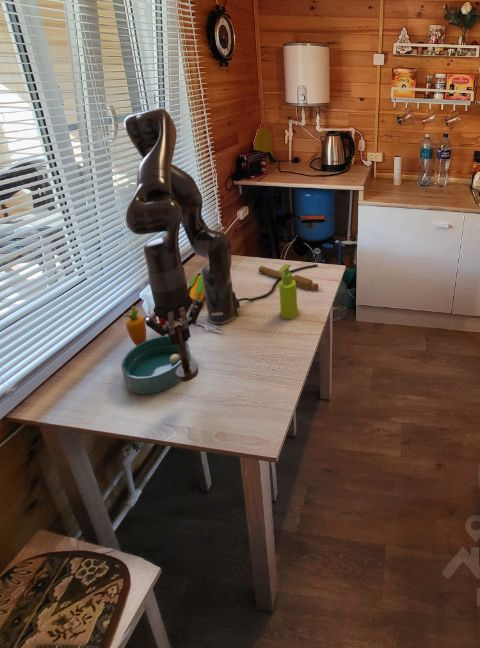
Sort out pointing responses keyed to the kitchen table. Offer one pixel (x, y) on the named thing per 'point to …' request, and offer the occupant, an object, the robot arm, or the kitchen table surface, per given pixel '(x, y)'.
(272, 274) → the rolling pin
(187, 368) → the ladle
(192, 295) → the corn
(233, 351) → the kitchen table surface
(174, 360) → the bead
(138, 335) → the carrot
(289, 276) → the soap dispenser
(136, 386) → the bowl
